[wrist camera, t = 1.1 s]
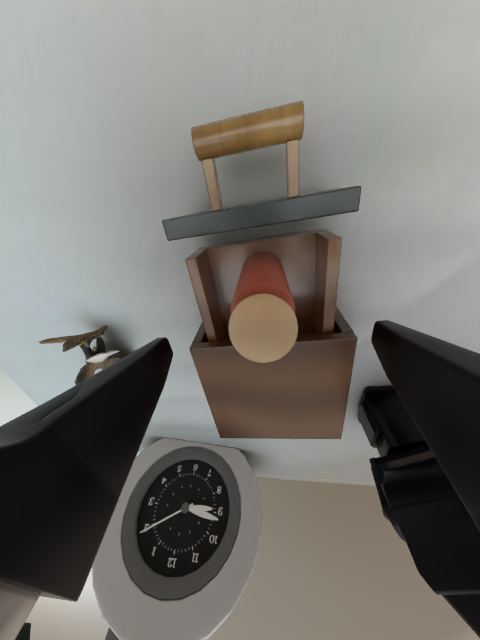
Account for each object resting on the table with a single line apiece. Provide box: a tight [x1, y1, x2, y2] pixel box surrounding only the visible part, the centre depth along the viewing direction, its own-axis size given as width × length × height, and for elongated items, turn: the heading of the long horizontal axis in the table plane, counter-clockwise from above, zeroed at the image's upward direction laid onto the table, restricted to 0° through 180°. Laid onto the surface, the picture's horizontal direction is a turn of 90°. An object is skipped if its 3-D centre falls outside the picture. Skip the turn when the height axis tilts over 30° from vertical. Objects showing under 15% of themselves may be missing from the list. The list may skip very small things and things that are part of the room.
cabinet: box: [190, 307, 357, 439], centre depth 21 cm, size 13×13×6 cm
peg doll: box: [229, 251, 298, 363], centre depth 12 cm, size 3×3×10 cm
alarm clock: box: [92, 438, 262, 640], centre depth 28 cm, size 21×8×20 cm, turn 85°
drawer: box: [162, 101, 361, 342], centre depth 15 cm, size 15×11×4 cm
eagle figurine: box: [39, 326, 122, 385], centre depth 23 cm, size 8×7×9 cm
